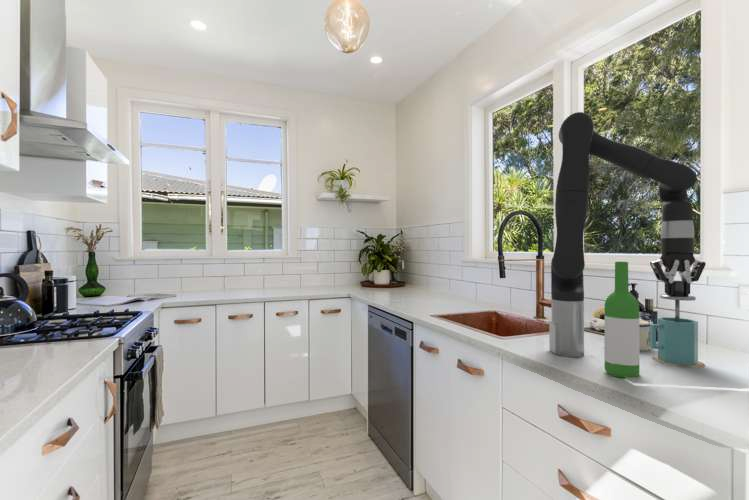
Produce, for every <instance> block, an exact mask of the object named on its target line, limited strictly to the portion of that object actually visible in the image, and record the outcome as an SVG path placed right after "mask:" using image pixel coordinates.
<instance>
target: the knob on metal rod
mask: <svg viewBox="0 0 749 500" xmlns="http://www.w3.org/2000/svg"><path fill="white" fill-rule="evenodd" d="M673 284H674V296H667V294H665V293H662V294H661V293H660V294H659V298H660V299H664V300H671V301H672V300H673V301H674V302H675V303H674V306H675V307H674V310H675V312H674V318H675V322H680V318H681V316H680V311H681V310H680V302H681V301H683V302H684V301H689V302H690V301H692V302H693V301H696V298H697V297H696V296H693V295H688V296H685V281H681V280H676V279H674V281H673Z"/></svg>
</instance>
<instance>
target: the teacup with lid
mask: <svg viewBox="0 0 749 500" xmlns="http://www.w3.org/2000/svg"><path fill="white" fill-rule="evenodd" d="M650 324H651V323H650V322H649V321H647V320H644V319H642V318H641V317H639V344H640V351H649V350H650Z"/></svg>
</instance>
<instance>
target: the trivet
mask: <svg viewBox="0 0 749 500" xmlns="http://www.w3.org/2000/svg"><path fill="white" fill-rule="evenodd" d="M651 359H652V361H653V360H654V361H656V362H658V363H660V364H664V365H668V366H673V367H680V368H689V369H690V368H691V369H700V368H704V367H706V364H705V363H703V362H701V361H699V360H698V364H696V365H695V366H685V365H676V364H671V363H666V362H664V361H662V360H660V359H658V354H656V355H652V356H651Z"/></svg>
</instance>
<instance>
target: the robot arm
mask: <svg viewBox="0 0 749 500" xmlns="http://www.w3.org/2000/svg"><path fill="white" fill-rule="evenodd" d="M558 139H559V142H560V143H561V144H562V158H561V165H560V169H559V173H558V175H557V176H558V177H557V181H556V188H555V189H556V190H555V201H554V203H555V204H554V208H555V209H554V210H555V211H554V212H555V213H554V214H555V225H556V239H555V240H556V241H555V245H554V253H553V256H552V258H551V262H550V263H551V264H550V270H551V271H550V273H551V274H550V275H551V276H550V277H551V284H550V287H551V290H550V291H551V293H550V295H551V297H550V298H551V303H550V304H551V305H550V306H551V310H550V311H551V320H550V321H549V325H548V326H549V329H548V330H549V331H548V333H549V336H548V337H549V342H548V343H549V345H548V346H549V351H550V352H551V353H553V355H556V356H562V357H569V358H581V357H584V356H585V291H584V269H585V264H586V263H585V254H584V251H585V250H584V233H585V227H586V223H587V222H586V221H587V216H588V209H589V208H588V207H589V196H590V155H592V156H594V157H597V158H599V159H601V160H604V161H605V162H608V163H610V164H612V165H614V166H616V167H618V168H621V169H623V170H624V171H627V172H629V173H631V174H632V175H635V176H637V177H638V178H641V179H643V180H652V181H655V182H658V187H657V188H658V189H657V190H658V195H659V200H660V204H661V225H660V226H661V228H660V253H661V257H660V258H659V259H657V260H656V261H653V260H652V261H650V263H649V265H650V268H651V269H652V271H653V274H654V276H655V278H656V280H658V281H660V282H663V283H664V294H667V296H674V284H673V281H674V280H675V276H676V275H677V273H678V275H679V276H680V279H681V280H680V281H685V296H690V295H691V284H692V283H693V282H699V279H700V278H701V276H702V273H703V272H704V269H705V267H706V265H707V264H706V262H705V261H700V260H697V259H696V258H695V256H694V254H695V227H694V226H695V225H694V213H693V212H694V207H693V203H692V202H691V201H689V200H688V192H687V191H688V190H690V189H691V188H692V187H694V186H695V185H696V183H697V180H698V177H697V174H696V172H695V171H694V169H692V168H691V167H689V166H687V165H685V164H682V163H679V162H676V161H673V160H670V159H666V158H661V157H659V156H657V155H656V154H653V153H652V152H649V151H647V150H645V149H642V148H641V147H637V146H636V145H632V144H628V143H624V142H620V141H616V140H613V139H610V138H607V137H605V136H603V135H600V133H597V132H596V131H595V124H594V121H593V119H592V117H591V116H590V115H589V114H587V113H586V112H582V111H581V112H580V111H578V112H574V113H571V114H570V115H569V116H567V117H566V118H565V120H564V121H563V122H562V124H561V125H560V128H559V131H558ZM662 267H664V270H663V268H662ZM691 267H692V269H691Z"/></svg>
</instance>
